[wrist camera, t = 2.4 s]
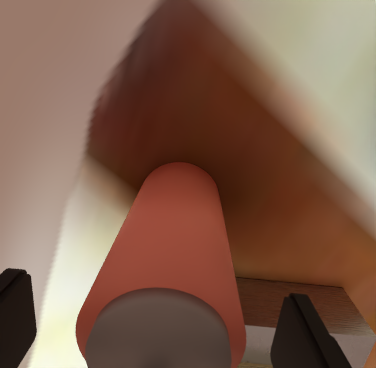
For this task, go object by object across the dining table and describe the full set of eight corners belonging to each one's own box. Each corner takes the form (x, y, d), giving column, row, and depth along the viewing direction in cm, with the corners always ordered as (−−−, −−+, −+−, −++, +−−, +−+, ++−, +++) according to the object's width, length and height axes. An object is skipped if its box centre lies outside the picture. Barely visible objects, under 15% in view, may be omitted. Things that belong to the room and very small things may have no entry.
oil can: (141, 157, 17) (-9, 381, 4) (224, 166, 17) (302, 410, 4) (138, 230, 18) (27, 530, 6) (213, 238, 18) (248, 550, 6)
